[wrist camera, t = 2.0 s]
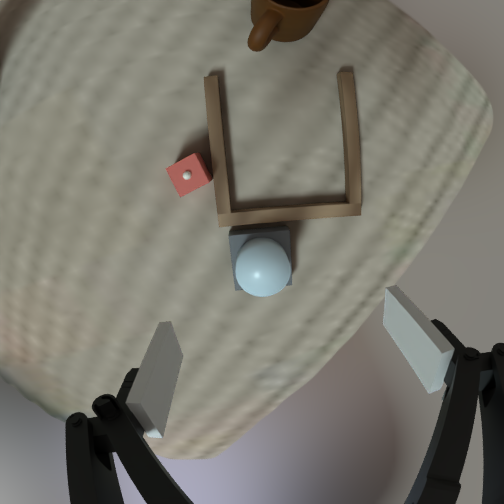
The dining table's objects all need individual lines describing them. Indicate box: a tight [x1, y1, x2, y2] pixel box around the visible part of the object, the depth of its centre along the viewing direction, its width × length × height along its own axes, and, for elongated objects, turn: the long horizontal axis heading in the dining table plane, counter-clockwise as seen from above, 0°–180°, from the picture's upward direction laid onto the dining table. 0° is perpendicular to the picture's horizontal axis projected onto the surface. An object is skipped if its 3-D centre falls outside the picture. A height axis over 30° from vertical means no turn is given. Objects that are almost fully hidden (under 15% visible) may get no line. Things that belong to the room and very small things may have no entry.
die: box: [166, 153, 213, 197], centre depth 30 cm, size 4×4×4 cm
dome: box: [235, 237, 291, 297], centre depth 33 cm, size 6×6×3 cm
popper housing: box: [229, 226, 292, 290], centre depth 35 cm, size 7×7×2 cm
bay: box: [204, 72, 361, 227], centre depth 31 cm, size 17×18×2 cm
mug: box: [248, 0, 329, 52], centre depth 22 cm, size 12×8×9 cm, turn 153°
